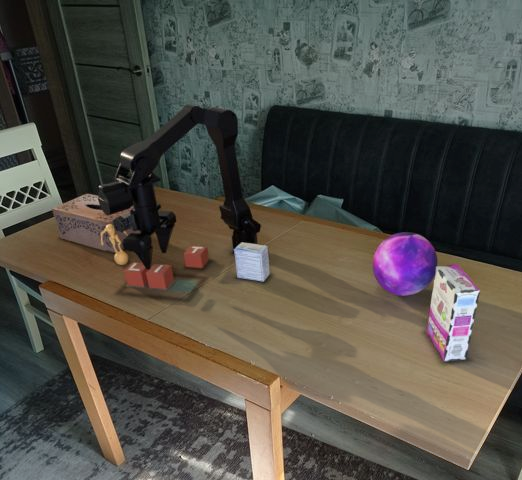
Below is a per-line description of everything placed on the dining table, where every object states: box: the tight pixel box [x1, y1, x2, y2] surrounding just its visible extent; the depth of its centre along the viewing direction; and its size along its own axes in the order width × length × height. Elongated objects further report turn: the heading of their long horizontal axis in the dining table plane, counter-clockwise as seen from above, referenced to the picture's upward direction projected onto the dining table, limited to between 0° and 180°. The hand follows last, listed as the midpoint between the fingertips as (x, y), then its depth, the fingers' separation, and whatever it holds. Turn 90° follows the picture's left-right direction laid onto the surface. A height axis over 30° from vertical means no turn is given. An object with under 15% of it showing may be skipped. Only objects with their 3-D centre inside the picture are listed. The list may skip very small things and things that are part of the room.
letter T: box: [183, 245, 210, 269], centre depth 150 cm, size 5×5×5 cm
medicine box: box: [233, 242, 271, 283], centre depth 141 cm, size 8×4×9 cm, turn 65°
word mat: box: [125, 278, 199, 294], centre depth 143 cm, size 20×12×1 cm, turn 73°
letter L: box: [123, 261, 148, 287], centre depth 143 cm, size 5×5×5 cm
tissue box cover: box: [51, 193, 141, 254], centre depth 169 cm, size 26×14×10 cm, turn 56°
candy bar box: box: [426, 264, 481, 362], centre depth 108 cm, size 11×5×16 cm, turn 5°
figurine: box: [101, 224, 130, 266], centre depth 152 cm, size 8×6×12 cm
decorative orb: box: [372, 231, 439, 297], centre depth 128 cm, size 15×15×15 cm
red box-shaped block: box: [146, 263, 175, 289], centre depth 141 cm, size 5×5×5 cm
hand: (156, 260), depth 139 cm, fingers open, 9 cm apart
